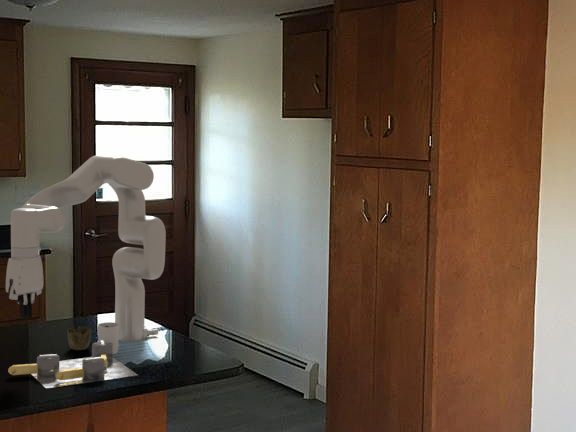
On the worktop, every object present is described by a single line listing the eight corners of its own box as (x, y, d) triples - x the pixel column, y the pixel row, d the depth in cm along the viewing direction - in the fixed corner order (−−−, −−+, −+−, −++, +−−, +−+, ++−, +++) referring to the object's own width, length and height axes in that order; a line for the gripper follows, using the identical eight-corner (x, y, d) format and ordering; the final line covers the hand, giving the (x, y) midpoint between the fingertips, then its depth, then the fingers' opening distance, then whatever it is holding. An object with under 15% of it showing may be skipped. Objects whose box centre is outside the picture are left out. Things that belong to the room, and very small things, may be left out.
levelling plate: (109, 359, 251) (109, 354, 251) (138, 380, 232) (138, 374, 231) (22, 370, 237) (22, 365, 237) (45, 393, 218) (46, 387, 217)
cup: (69, 358, 251) (69, 332, 250) (64, 352, 257) (64, 327, 257) (94, 355, 254) (94, 330, 254) (88, 349, 261) (88, 325, 260)
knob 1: (58, 370, 233) (58, 351, 232) (60, 376, 227) (60, 357, 227) (7, 374, 228) (7, 354, 228) (8, 380, 223) (8, 360, 222)
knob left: (100, 373, 232) (100, 354, 231) (107, 379, 227) (107, 359, 226) (52, 380, 224) (52, 360, 224) (58, 386, 219) (58, 366, 219)
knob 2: (91, 358, 246) (91, 340, 246) (111, 357, 248) (111, 339, 247) (93, 371, 233) (93, 352, 233) (115, 370, 235) (115, 351, 234)
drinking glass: (92, 357, 252) (93, 325, 251) (105, 352, 258) (105, 321, 257) (111, 360, 250) (111, 328, 249) (123, 355, 256) (123, 323, 255)
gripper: (36, 248, 236) (36, 310, 238) (-6, 254, 223) (-5, 320, 225) (55, 250, 232) (55, 314, 234) (13, 257, 219) (14, 324, 222)
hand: (25, 317), depth 230 cm, fingers closed
